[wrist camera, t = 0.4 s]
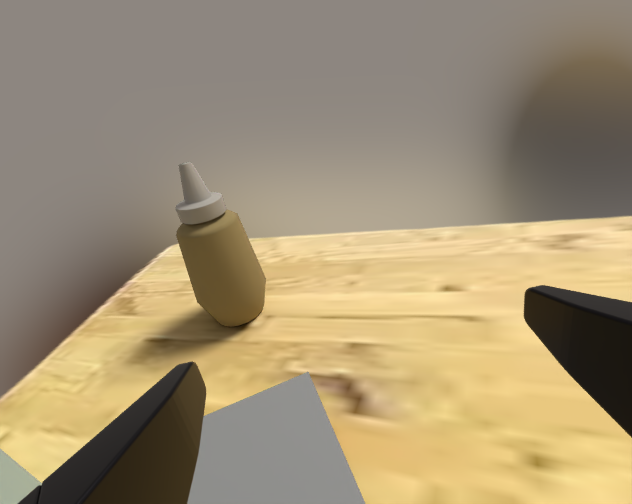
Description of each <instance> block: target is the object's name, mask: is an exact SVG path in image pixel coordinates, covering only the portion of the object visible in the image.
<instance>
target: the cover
mask: <svg viewBox="0 0 632 504" xmlns="http://www.w3.org/2000/svg"><path fill="white" fill-rule="evenodd" d="M39 485H42V483H41V482H40V481H38V480H37V479H36V478H35V477H34V476H32V475H31V474H30V473H29V472H28V471H26V470H25V469H24V468H23V467H22V466H20V465H19V464H18V463H17V462H16V461H14V460H13V459H12V458H11V457H10V456H8V455H7V454H6V453H5V452H4V451H2V450H1V449H0V504H18V503H19V502H20V501H21V500H22V499H23V498H24V497H26V496H27V495H28V494H29V493H30V492H31V491H32V490H34V489H35V488H36V487H37V486H39Z"/></svg>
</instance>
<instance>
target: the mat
mask: <svg viewBox="0 0 632 504" xmlns="http://www.w3.org/2000/svg"><path fill="white" fill-rule="evenodd" d="M187 504H365V502H364V499H363V497H362V495H361V492H360V490H359V488H358V486H357V483H356V481H355V479H354V476H353V474H352V472H351V469H350V467H349V465H348V462H347V460H346V458H345V456H344V453H343V451H342V449H341V446H340V444H339V442H338V439H337V437H336V435H335V432H334V430H333V428H332V426H331V423H330V421H329V419H328V416H327V414H326V412H325V409H324V407H323V405H322V402H321V400H320V398H319V396H318V393H317V391H316V389H315V386H314V384H313V382H312V379H311V377H310V375H309V372H307V373H304V374H302V375H299V376H297V377H295V378H292V379H290V380H288V381H285V382H283V383H281V384H278V385H276V386H274V387H271V388H269V389H267V390H264V391H262V392H260V393H257V394H255V395H252V396H250V397H248V398H245V399H243V400H241V401H238V402H236V403H234V404H231V405H229V406H227V407H224V408H222V409H220V410H217V411H215V412H213V413H210V414H208V415H205V416H203V424H202V432H201V440H200V447H199V454H198V458H197V463H196V468H195V472H194V476H193V481H192V485H191V489H190V494H189V498H188V502H187Z"/></svg>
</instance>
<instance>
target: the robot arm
mask: <svg viewBox="0 0 632 504" xmlns="http://www.w3.org/2000/svg"><path fill="white" fill-rule="evenodd" d="M524 318H525V321H526V323H527V324H528V326H529V327H530V328H531V329H532V330H533V332H534V333H535V334H536V335H537V337H538V338H539V339H540V340H541V341H542V343H543V344H544V345H545V346H546V347H547V349H548V350H549V351H550V352H551V354H552V355H553V356H554V357H555V358H556V360H557V361H558V362H559V363H560V364H561V366H562V367H563V368H564V369H565V370H566V371H567V372H568V373H569V374H570V375H571V377H572V378H573V379H574V380H575V381H576V382H577V383H578V384H579V385H580V386H581V387H582V388H583V389H584V390H585V391H586V392H587V393H588V394H589V395H590V396H591V397H592V398H593V399H594V400H595V401H596V402H597V403H598V404H599V405H600V406H601V407H602V408H603V409H604V410H605V411H606V412H607V413H608V414H609V415H610V416H611V417H612V418H613V419H614V420H615V421H616V422H617V423H618V424H619V425H620V426H621V427H622V428H623V429H624V430H625V431H626V432H627V433H628V434H629V435H630V436H631V437H632V302H627V301H622V300H617V299H611V298H606V297H601V296H596V295H591V294H586V293H581V292H576V291H571V290H565V289H560V288H555V287H550V286H545V285H540V286H536V287H531V288H528V289H527V290H526V291H525V298H524ZM205 400H206V387H205V383H204V381H203V379H202V376H201V374H200V371H199V369H198V366H197V364H196V363H195V362H188V363H183V364H179V365H177V366H176V367H175V368H174V369H172V370H171V371H170V372H169V373H168V374H167V375H166V376H164V377H163V378H162V379H161V380H160V381H159V382H157V383H156V384H155V385H154V386H153V387H152V388H151V389H149V390H148V391H147V392H146V393H145V394H144V395H142V396H141V397H140V398H139V399H138V400H137V401H135V402H134V403H133V404H132V405H131V406H130V407H129V408H127V409H126V410H125V411H124V412H123V413H122V414H120V415H119V416H118V417H117V418H116V419H115V420H114V421H112V422H111V423H110V424H109V425H108V426H107V427H105V428H104V429H103V430H102V431H101V432H100V433H99V434H97V435H96V436H95V437H94V438H93V439H92V440H90V441H89V442H88V443H87V444H86V445H85V446H83V447H82V448H81V449H80V450H79V451H78V452H77V453H75V454H74V455H73V456H72V457H71V458H70V459H68V460H67V461H66V462H65V463H64V464H63V465H62V466H60V467H59V468H58V469H57V470H56V471H55V472H53V473H52V474H51V475H50V476H49V477H48V478H46V479H45V480H44V481H43V483H42V485H39V486H37V487H36V488H35V489H34V490H32V491H31V492H30V493H29V494H28V495H27V496H26V497H24V498H23V499H22V500H21V501H20V502H19V503H18V504H187V502H188V498H189V494H190V489H191V485H192V481H193V476H194V472H195V468H196V463H197V458H198V454H199V447H200V440H201V432H202V424H203V416H204V408H205Z"/></svg>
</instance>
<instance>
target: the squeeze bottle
mask: <svg viewBox="0 0 632 504" xmlns="http://www.w3.org/2000/svg"><path fill="white" fill-rule="evenodd" d="M179 170H180V175H181V182H182V188H183V194H184V200H183V201H181V202H180V203H179V204H177V205H176V211H177V213H178V216H179V218H180V220H181V222H182V223H183V224H182V225H181V226H180V227H179V228H178V230H177V234H176V236H177V239H178V243H179V246H180V249H181V252H182V255H183V258H184V262H185V265H186V268H187V271H188V274H189V277H190V281H191V284H192V287H193V290H194V293H195V296H196V300H197V302H198V303H199V304H200V305H201V306H202V307H203V308H204V309H205V310H206V311H207V312H208V313H209V314H210V315H211V316H212V317H214V318H215V319H216V320H217V321H218V322H219V323H220V324H221V325H224V326H228V327H230V326H239V325H242V324H244V323H247V322H249V321H251V320H252V319H254V318H255V317H257V316H258V314H259V313H260V312H261V311H262V309H263V306H264V298H265V283H266V278H265V276H264V273H263V271H262V269H261V266H260V264H259V262H258V259H257V257H256V255H255V253H254V250H253V248H252V246H251V244H250V241H249V239H248V237H247V235H246V232H245V230H244V228H243V225H242V223H241V221H240V219H239V216H238V214H237V213H235V212H232V211H229V210H226V205H225V203H224V200H223V197H222V194H221V193H218V192H209V190H208V189H207V187H206V185H205V184H204V182H203V180H202V179H201V177H200V175H199V174H198V172H197V171H196V169H195V167H194V166H193V164H192V163H191V162H186V163H183V164H180V165H179Z"/></svg>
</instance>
